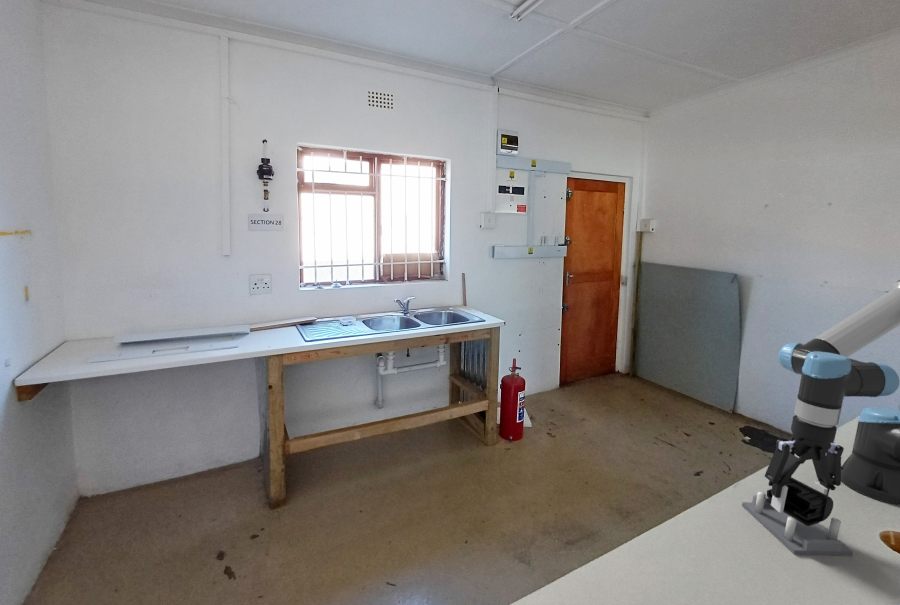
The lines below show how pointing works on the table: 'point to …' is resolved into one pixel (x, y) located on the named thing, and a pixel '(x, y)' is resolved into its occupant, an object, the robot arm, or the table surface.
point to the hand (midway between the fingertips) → (796, 509)
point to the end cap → (805, 503)
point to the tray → (797, 530)
